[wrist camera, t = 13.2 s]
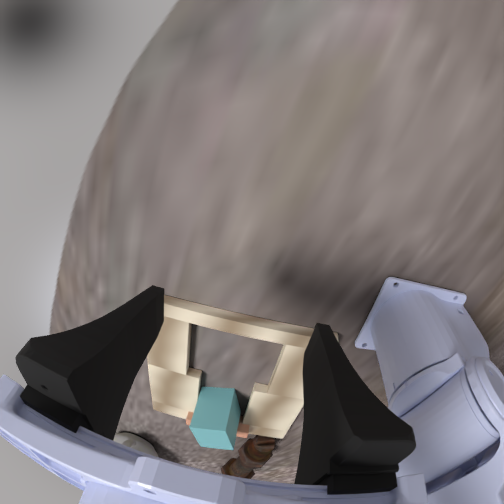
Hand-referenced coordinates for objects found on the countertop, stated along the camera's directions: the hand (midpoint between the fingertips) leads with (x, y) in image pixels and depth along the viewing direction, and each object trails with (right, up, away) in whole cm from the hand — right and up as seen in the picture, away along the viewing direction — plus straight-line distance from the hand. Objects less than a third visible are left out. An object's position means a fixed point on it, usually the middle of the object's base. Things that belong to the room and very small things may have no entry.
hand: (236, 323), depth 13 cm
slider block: (-3, -15, +20) cm, 25 cm away
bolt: (+1, -28, +26) cm, 38 cm away
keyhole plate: (-2, -11, +18) cm, 21 cm away
